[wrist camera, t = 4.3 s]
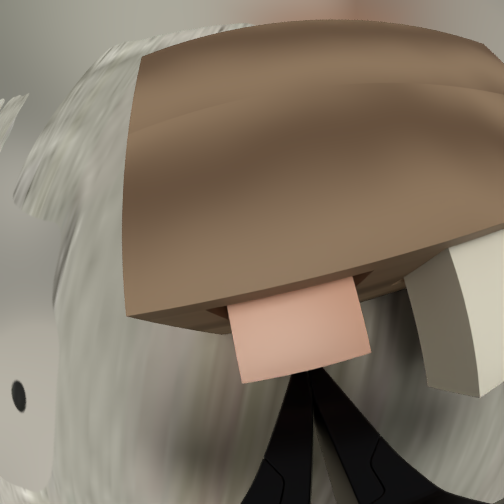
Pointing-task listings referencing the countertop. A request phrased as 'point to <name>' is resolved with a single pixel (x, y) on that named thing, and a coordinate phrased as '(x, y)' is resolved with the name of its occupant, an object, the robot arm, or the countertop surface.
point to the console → (305, 163)
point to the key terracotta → (298, 330)
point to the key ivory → (462, 315)
